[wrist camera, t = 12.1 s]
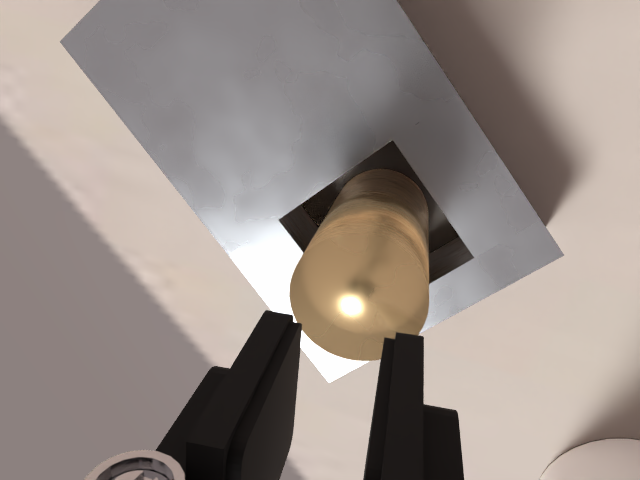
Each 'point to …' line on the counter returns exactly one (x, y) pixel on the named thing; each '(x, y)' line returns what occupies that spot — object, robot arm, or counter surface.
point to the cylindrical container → (598, 462)
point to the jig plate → (306, 132)
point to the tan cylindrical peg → (365, 268)
